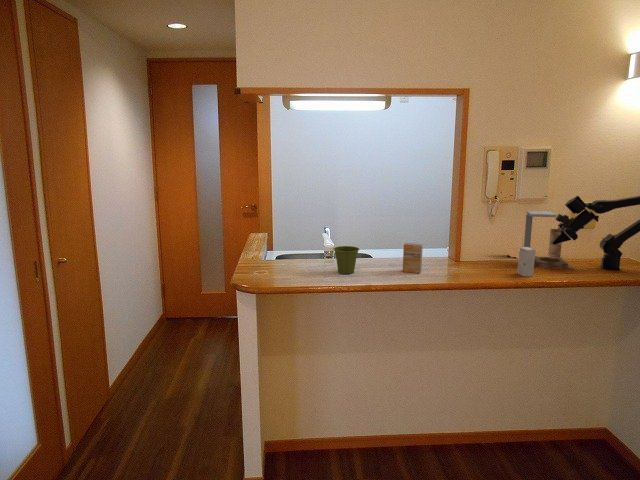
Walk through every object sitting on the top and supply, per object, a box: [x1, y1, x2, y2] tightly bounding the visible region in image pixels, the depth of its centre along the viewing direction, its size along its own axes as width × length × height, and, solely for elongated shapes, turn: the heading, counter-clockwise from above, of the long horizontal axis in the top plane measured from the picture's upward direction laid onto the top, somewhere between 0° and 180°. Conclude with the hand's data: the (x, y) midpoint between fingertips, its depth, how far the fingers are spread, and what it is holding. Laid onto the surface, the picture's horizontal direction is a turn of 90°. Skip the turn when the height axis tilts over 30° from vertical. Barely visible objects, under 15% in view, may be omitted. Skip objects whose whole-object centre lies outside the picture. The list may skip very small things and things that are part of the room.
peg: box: [547, 228, 563, 258], centre depth 217 cm, size 5×5×13 cm
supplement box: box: [402, 242, 424, 274], centre depth 207 cm, size 8×5×13 cm, turn 70°
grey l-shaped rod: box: [523, 210, 557, 248], centre depth 219 cm, size 12×12×25 cm
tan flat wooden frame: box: [534, 255, 575, 271], centre depth 219 cm, size 18×16×2 cm
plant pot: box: [332, 245, 360, 275], centre depth 206 cm, size 12×12×11 cm
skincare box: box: [516, 246, 537, 277], centre depth 200 cm, size 6×4×12 cm
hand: (552, 242), depth 217 cm, fingers closed on peg, 4 cm apart
